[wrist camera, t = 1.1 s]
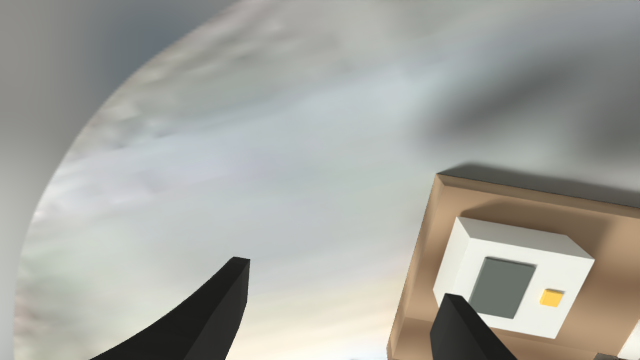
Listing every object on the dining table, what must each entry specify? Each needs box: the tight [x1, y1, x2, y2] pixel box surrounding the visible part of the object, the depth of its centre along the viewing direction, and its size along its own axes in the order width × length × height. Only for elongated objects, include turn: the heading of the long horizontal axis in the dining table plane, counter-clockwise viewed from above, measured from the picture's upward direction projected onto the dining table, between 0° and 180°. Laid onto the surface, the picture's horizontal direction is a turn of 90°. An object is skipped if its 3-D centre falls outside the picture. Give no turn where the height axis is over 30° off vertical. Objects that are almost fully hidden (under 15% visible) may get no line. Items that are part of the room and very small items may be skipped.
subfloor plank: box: [386, 174, 640, 360], centre depth 22 cm, size 14×22×2 cm, turn 82°
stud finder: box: [433, 216, 595, 339], centre depth 19 cm, size 5×6×3 cm
